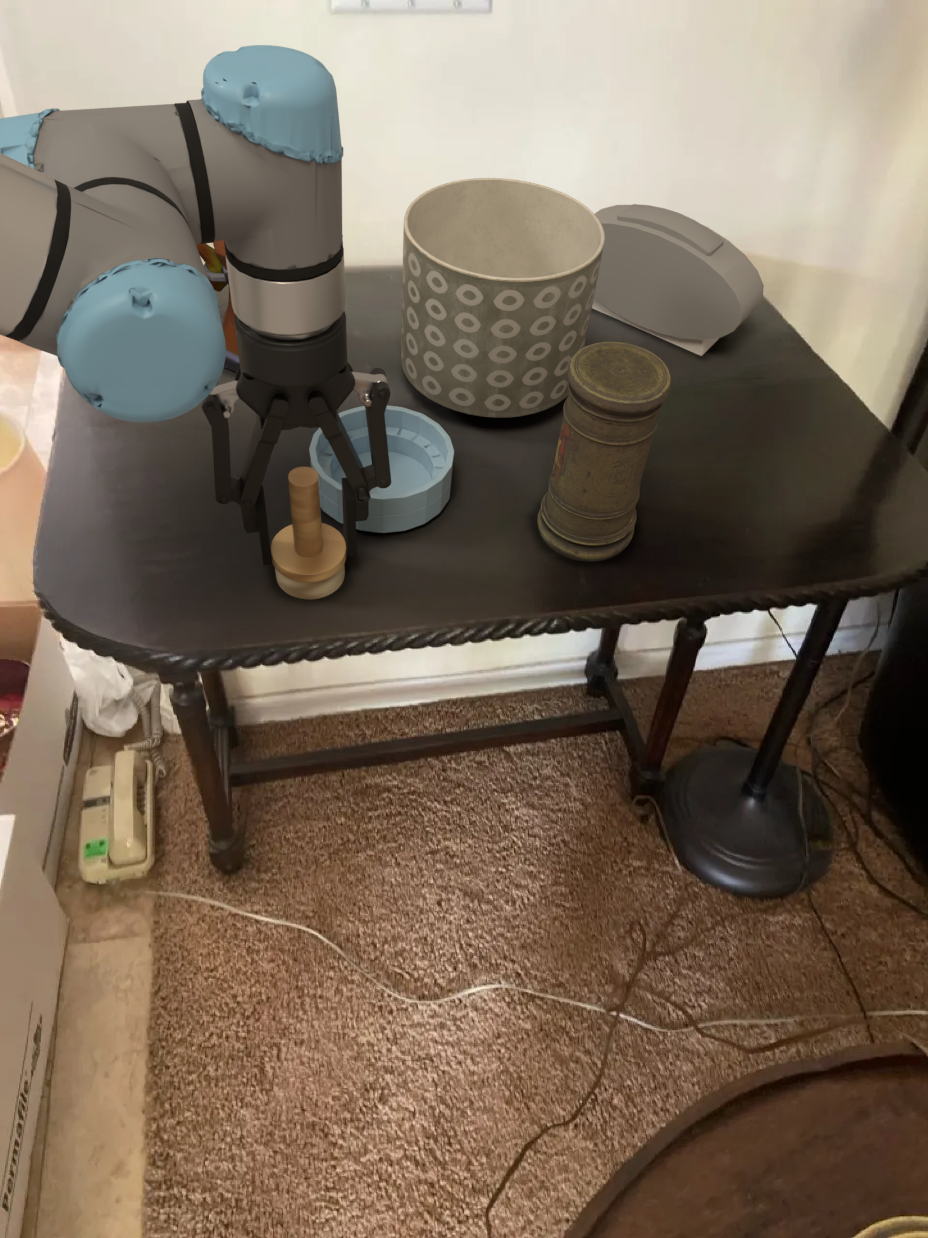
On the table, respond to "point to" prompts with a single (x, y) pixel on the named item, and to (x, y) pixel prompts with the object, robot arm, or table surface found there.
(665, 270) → the alarm clock
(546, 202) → the planter
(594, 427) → the container
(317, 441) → the bowl
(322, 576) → the brush
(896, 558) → the table surface
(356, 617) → the table surface
